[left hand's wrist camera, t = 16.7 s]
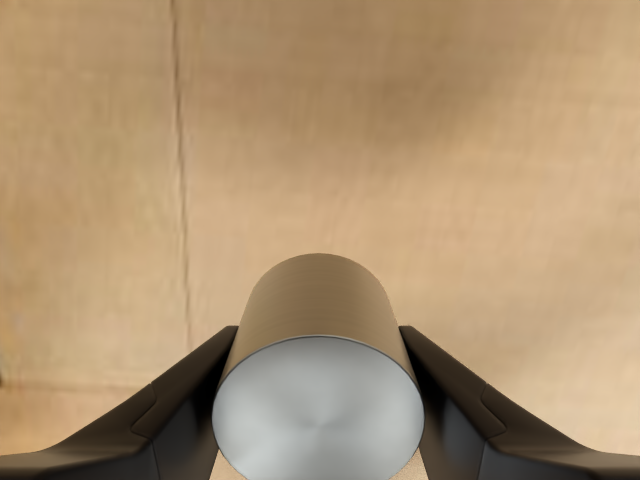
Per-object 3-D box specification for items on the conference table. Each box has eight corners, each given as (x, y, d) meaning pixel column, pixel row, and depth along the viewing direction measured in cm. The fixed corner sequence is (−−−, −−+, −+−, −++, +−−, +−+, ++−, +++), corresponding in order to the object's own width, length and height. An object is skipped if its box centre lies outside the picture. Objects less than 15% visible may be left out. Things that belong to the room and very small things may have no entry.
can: (222, 340, 13) (176, 454, 9) (290, 225, 11) (273, 296, 7) (342, 397, 14) (351, 524, 10) (419, 296, 12) (470, 396, 8)
